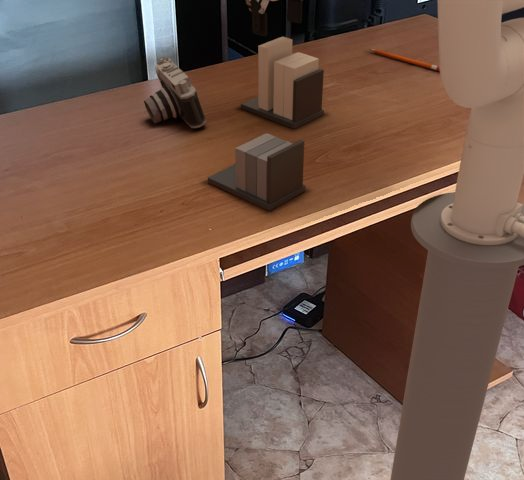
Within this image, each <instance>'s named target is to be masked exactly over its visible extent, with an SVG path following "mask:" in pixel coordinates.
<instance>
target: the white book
mask: <svg viewBox="0 0 524 480" xmlns="http://www.w3.org/2000/svg"><path fill="white" fill-rule="evenodd" d="M257 48H258V50H257V51H258V53H257V56H258V57H257V63H258V64H257V65H258V66H257V67H258V68H257V75H258V77H257V80H258V81H257V83H258V85H257V89H258V90H257V91H258V92H257V94H258V95H257V97H258V108H261V109H264V110H266V111H269V110H271V109H273V100H274V62H275V61H277V60H280V59H282V58H285V57H287V56H290V55H292V54H293V39H292V38H289V37H287V36H281V37H277V38H275V39H273V40H270V41H267V42H265V43H262V44H259V45H258V46H257Z"/></svg>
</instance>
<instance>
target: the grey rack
mask: <svg viewBox="0 0 524 480" xmlns="http://www.w3.org/2000/svg"><path fill="white" fill-rule="evenodd" d="M234 150H235V151H234V152H235V156H234V157H235V158H234V159H235V163H234V164H232V165H230V166H228V167H226V168H224V169H222V170H220V171H218V172H216V173H214V174H212V175H209V176H208V177H207V183H208V184H209V185H212V186H215V187H217V188H219V189H221V190H223V191H225V192H227V193H229V194H231V195H234V196H235V197H238V198H241V199H242V200H245V201H247V202H249V203H251V204H253V205H255V206H258V207H260V208H262V209H264V210H266V211H268V212H270V211H273V210H274V209H276V208H277V207H279V206H281V205H283V204H284V203H286V202H288V201H290V200H291V199H294V198H295V197H297V196H299V195H301V194H302V193H304V192H305V191H306V185H305V184H304V164H305V163H304V162H305V161H304V160H305V140H303V139H300V140H299V139H298V140H297V141H295V142H294V143H292V142H291V141H287V140H285V139H282V138H280V137H277V136H275V135H273V134H270V133H268V132H267V133H264V134H262V135H259V136H258V137H255V138H253V139H252V140H249V141H247V142H245V143H243V144H241V145H239V146H236V147H235V149H234Z"/></svg>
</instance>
